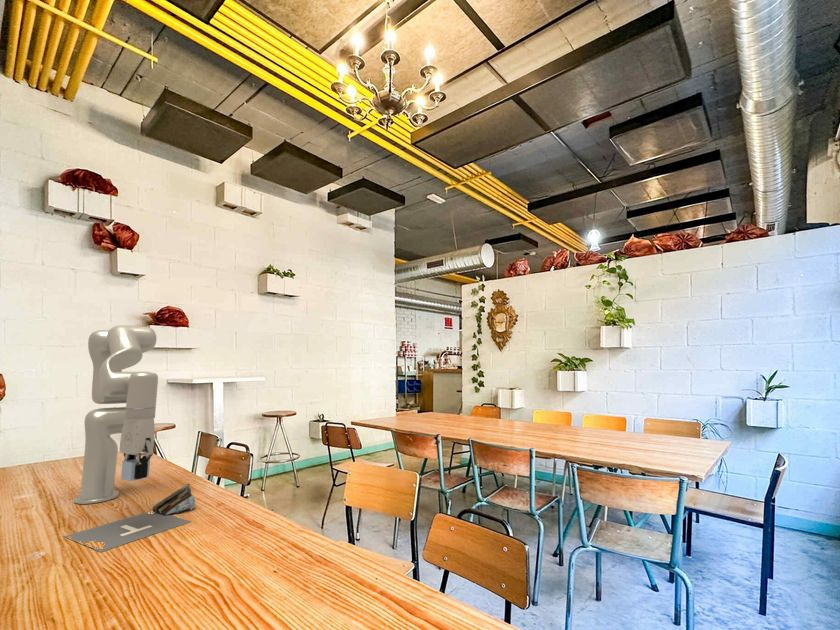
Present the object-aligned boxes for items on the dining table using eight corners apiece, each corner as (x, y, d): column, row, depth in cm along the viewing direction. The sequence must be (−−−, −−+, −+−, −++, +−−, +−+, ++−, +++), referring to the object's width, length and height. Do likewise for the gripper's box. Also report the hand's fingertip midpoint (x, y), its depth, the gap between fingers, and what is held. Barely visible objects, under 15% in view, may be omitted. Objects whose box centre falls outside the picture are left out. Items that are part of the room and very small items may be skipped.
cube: (120, 479, 120) (122, 461, 121) (139, 475, 125) (140, 458, 125) (130, 481, 118) (131, 463, 119) (148, 477, 122) (150, 459, 123)
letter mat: (63, 536, 114) (63, 536, 114) (153, 510, 135) (153, 510, 135) (100, 552, 104) (100, 551, 104) (191, 521, 125) (191, 521, 125)
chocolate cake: (159, 520, 127) (193, 487, 134) (149, 509, 131) (182, 477, 138) (177, 533, 133) (208, 501, 140) (167, 522, 137) (198, 491, 144)
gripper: (111, 413, 124) (105, 476, 122) (143, 416, 116) (137, 484, 114) (138, 411, 131) (133, 471, 129) (169, 414, 123) (164, 477, 121)
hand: (135, 476), depth 121 cm, fingers closed on cube, 4 cm apart
